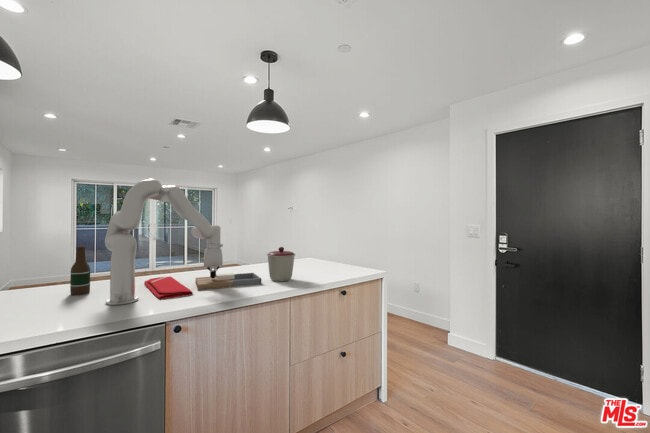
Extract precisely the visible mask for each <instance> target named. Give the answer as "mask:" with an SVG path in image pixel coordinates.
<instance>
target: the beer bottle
mask: <svg viewBox="0 0 650 433" xmlns="http://www.w3.org/2000/svg"><path fill="white" fill-rule="evenodd" d="M75 249H76V253H75V261H74V262H73V264H72V266H71V269H70V279H69V280H70V282H69V283H70V284H69V285H70V286H69V288H70V289H69V291H70V295H71V296H83V295H87V294H89V293H90V292H91V267H90V264H88V262H87V260H86V259H87V258H86V245H78V246H77V245H76V247H75Z"/></svg>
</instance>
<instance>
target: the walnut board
mask: <svg viewBox="0 0 650 433" xmlns="http://www.w3.org/2000/svg"><path fill="white" fill-rule="evenodd" d="M195 285H196V288H197V291H204V290H214V289H225V288H226V289H228V288H233V286H232V281H231V280H230V279H227V280H216V277H215V278H213V279H212V278H211V277H210V276H201V277H200V276H199V277H195Z"/></svg>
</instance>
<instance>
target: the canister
mask: <svg viewBox="0 0 650 433" xmlns="http://www.w3.org/2000/svg"><path fill="white" fill-rule="evenodd" d="M277 249H278V250H274V251H269V252H268V253H267V254H266V256H267V264H268V273H269V278H270V280H271V281H273V282H277V283H279V282H281V283H282V282H289V281H290V280H291V279H292V277H293V272H294V263H295V256H296V253H294V252H293V251H289V250H285V248H284V247H283V246H279V247H278V248H277Z"/></svg>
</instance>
